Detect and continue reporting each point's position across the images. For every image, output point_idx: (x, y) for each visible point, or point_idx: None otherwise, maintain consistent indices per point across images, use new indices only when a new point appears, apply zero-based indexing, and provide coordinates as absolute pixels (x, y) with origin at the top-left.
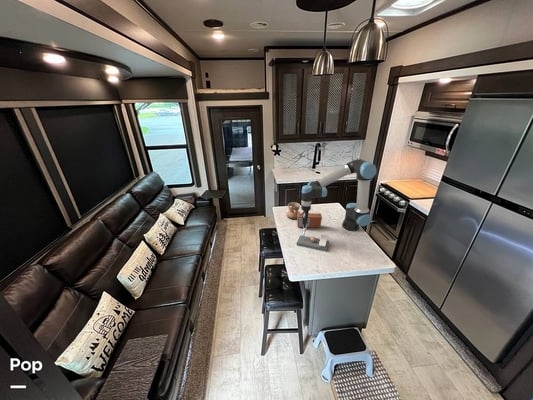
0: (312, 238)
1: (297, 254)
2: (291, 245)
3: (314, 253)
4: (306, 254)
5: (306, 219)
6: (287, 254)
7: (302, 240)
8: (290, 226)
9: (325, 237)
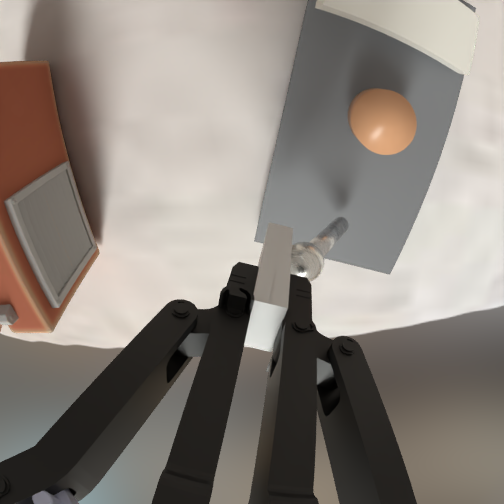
0: (395, 132)
1: (488, 252)
2: (383, 292)
3: (493, 123)
4: (499, 190)
5: (288, 422)
6: (472, 308)
7: (353, 223)
8: (109, 293)
9: None
